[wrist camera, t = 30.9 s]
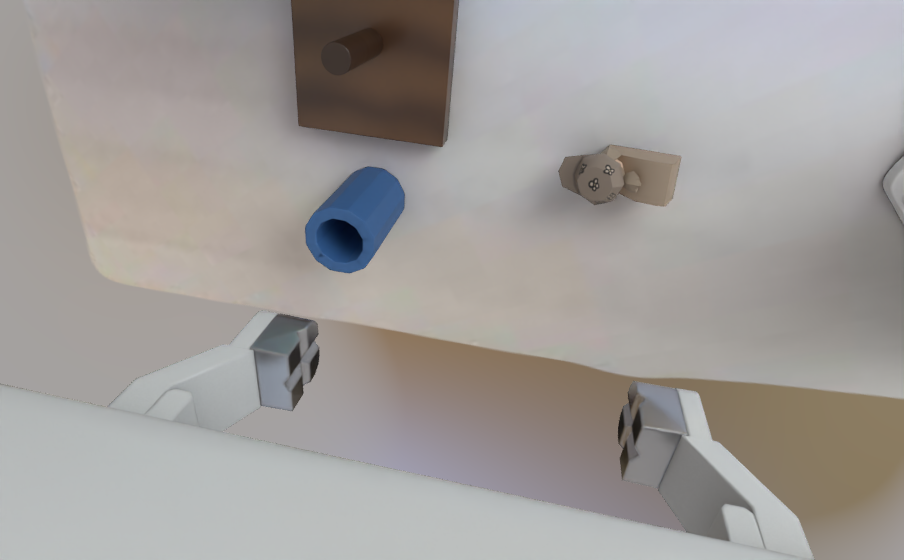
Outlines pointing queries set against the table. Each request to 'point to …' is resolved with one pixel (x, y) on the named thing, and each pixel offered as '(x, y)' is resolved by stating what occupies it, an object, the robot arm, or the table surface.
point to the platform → (376, 67)
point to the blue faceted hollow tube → (355, 220)
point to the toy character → (622, 175)
